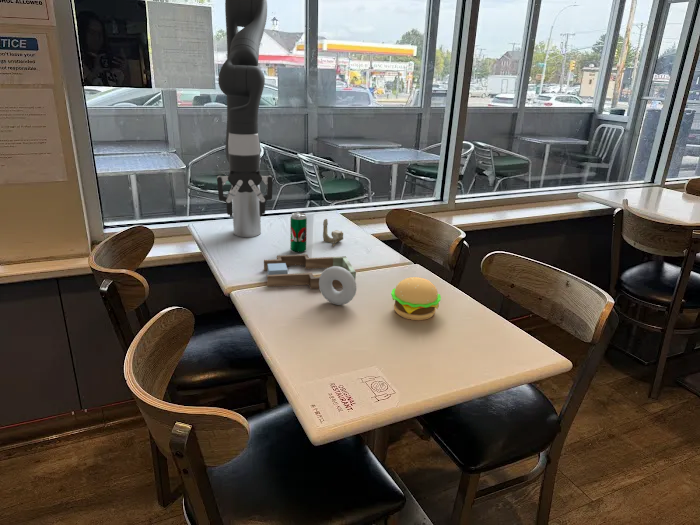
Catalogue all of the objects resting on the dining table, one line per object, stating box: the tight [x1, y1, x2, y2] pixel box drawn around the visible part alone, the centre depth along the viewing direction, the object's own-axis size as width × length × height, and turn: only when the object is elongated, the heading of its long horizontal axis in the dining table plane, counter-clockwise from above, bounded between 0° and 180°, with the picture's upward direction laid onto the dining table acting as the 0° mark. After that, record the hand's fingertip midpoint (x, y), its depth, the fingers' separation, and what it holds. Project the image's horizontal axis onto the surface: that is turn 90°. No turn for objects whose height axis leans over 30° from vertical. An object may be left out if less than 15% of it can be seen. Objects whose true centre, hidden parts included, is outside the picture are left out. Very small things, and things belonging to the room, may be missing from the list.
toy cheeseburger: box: [390, 276, 442, 321], centre depth 120 cm, size 12×12×9 cm
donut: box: [319, 266, 357, 306], centre depth 122 cm, size 10×4×10 cm, turn 65°
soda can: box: [289, 212, 308, 254], centre depth 155 cm, size 5×5×12 cm
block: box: [267, 263, 289, 275], centre depth 136 cm, size 5×5×4 cm
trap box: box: [263, 254, 357, 290], centre depth 139 cm, size 18×24×3 cm
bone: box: [322, 218, 344, 247], centre depth 164 cm, size 9×6×10 cm
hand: (246, 215), depth 129 cm, fingers open, 7 cm apart
